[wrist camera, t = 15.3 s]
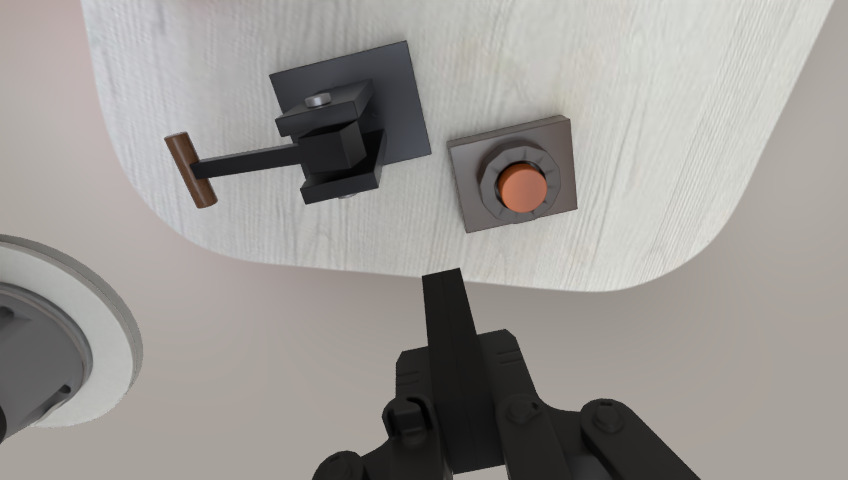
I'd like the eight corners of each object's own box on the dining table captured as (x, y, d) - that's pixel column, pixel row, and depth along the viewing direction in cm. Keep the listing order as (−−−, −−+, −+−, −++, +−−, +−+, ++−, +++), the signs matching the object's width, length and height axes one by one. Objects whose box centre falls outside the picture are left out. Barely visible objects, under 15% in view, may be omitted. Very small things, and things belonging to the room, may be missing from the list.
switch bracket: (309, 178, 39) (264, 247, 27) (273, 73, 36) (199, 95, 23) (431, 150, 39) (442, 207, 26) (406, 40, 35) (405, 44, 22)
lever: (211, 199, 32) (187, 212, 30) (180, 131, 30) (152, 141, 28) (373, 177, 28) (358, 191, 26) (350, 96, 26) (331, 104, 24)
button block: (463, 224, 42) (469, 242, 38) (446, 141, 38) (450, 152, 35) (569, 200, 41) (585, 217, 37) (561, 114, 38) (578, 123, 34)
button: (501, 209, 37) (505, 217, 36) (494, 168, 36) (498, 175, 34) (543, 200, 37) (549, 207, 35) (538, 158, 35) (544, 164, 34)
